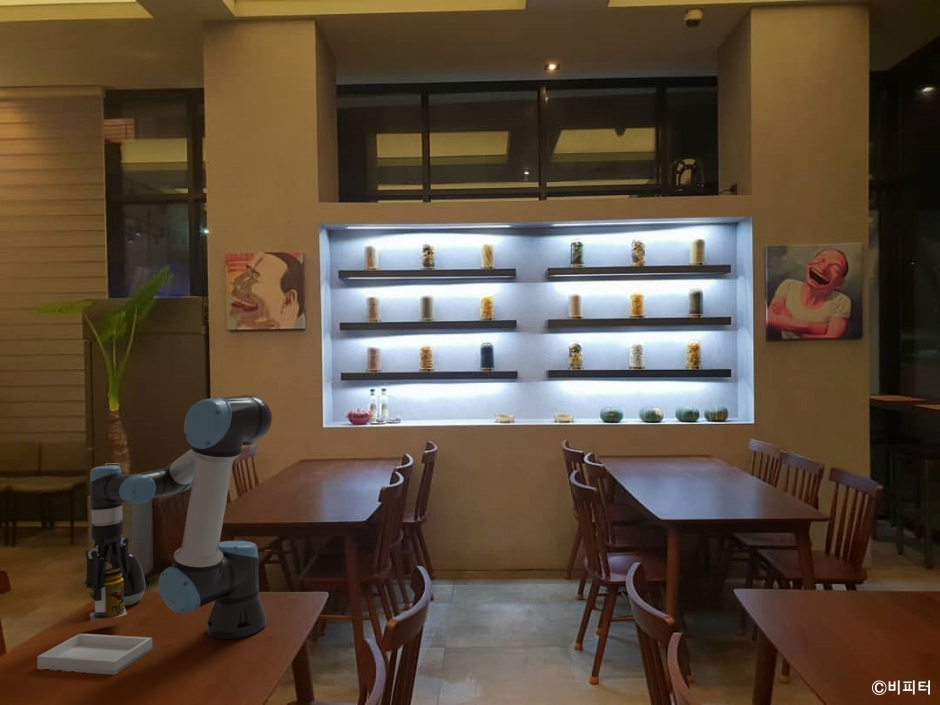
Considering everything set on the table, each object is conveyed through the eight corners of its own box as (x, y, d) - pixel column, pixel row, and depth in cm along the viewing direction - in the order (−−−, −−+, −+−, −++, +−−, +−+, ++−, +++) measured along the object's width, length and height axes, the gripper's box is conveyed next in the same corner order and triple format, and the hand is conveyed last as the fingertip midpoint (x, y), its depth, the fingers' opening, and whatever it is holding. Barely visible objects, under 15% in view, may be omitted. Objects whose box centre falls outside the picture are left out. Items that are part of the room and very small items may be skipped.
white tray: (152, 649, 163) (152, 637, 163) (115, 674, 150) (115, 661, 150) (79, 645, 167) (79, 633, 167) (37, 669, 154) (37, 656, 154)
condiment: (127, 615, 176) (125, 570, 177) (91, 622, 172) (90, 577, 172) (124, 607, 182) (123, 564, 183) (89, 614, 178) (88, 570, 178)
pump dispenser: (100, 605, 194) (99, 555, 194) (133, 594, 203) (132, 546, 203) (119, 612, 189) (118, 560, 189) (152, 600, 198) (151, 550, 198)
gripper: (119, 514, 188) (122, 594, 188) (67, 531, 169) (70, 620, 169) (142, 514, 187) (145, 594, 186) (93, 531, 168) (95, 621, 168)
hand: (109, 606), depth 178 cm, fingers closed on condiment, 6 cm apart
